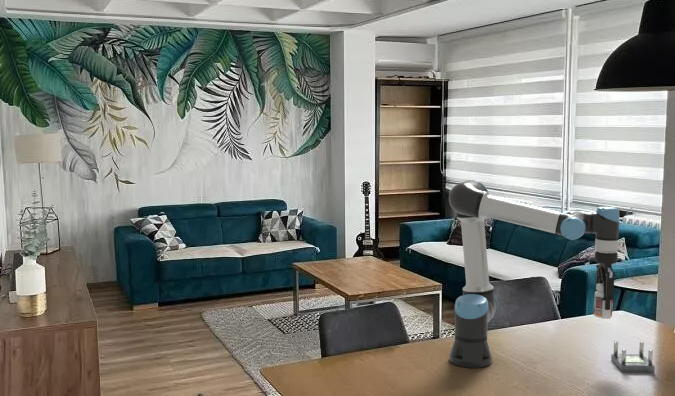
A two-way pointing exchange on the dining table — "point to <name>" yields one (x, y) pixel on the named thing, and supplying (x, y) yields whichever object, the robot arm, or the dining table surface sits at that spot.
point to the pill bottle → (599, 301)
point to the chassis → (633, 360)
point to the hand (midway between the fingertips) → (603, 315)
